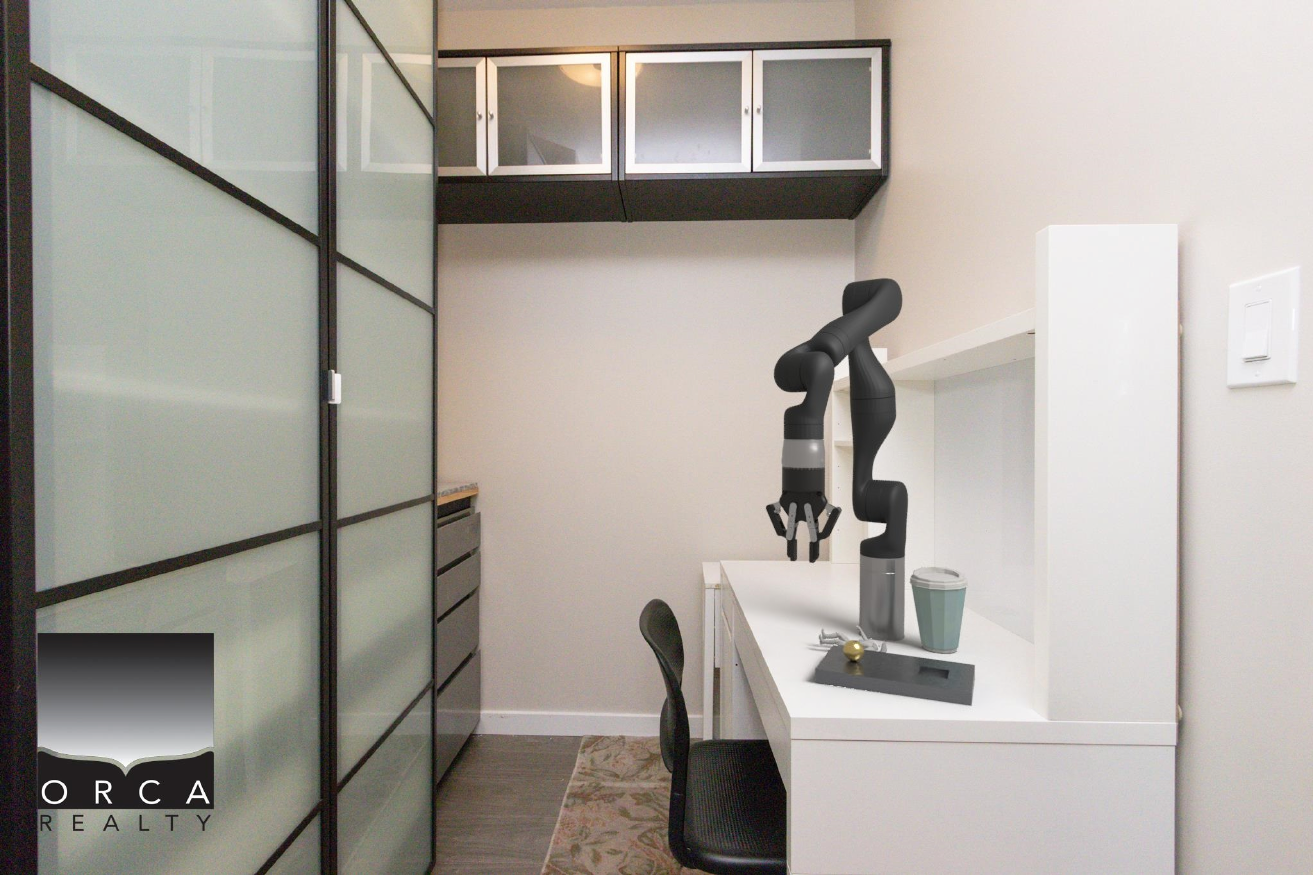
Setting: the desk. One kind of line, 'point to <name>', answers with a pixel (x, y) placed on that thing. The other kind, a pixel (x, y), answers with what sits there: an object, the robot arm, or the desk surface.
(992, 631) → the desk surface
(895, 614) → the robot arm
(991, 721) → the desk surface
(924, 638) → the disposable coffee cup
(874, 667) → the bore plate
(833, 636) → the soldier figure
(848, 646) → the brass knob
